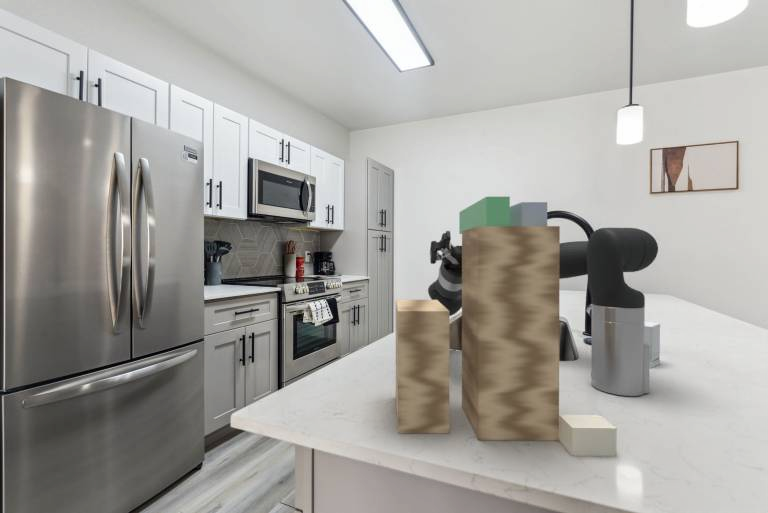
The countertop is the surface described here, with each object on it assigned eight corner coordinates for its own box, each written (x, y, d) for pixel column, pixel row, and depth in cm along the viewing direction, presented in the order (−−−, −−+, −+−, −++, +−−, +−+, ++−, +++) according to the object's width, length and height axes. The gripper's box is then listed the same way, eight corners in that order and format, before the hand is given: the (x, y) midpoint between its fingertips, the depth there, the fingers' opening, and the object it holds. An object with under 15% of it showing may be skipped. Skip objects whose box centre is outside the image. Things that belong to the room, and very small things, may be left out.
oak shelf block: (527, 406, 66) (528, 231, 66) (558, 440, 54) (559, 226, 54) (461, 406, 66) (462, 231, 66) (478, 440, 54) (478, 226, 54)
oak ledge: (436, 397, 70) (436, 299, 70) (449, 433, 56) (449, 311, 56) (395, 397, 70) (395, 299, 70) (397, 433, 56) (397, 311, 56)
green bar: (476, 233, 74) (476, 212, 74) (509, 226, 54) (509, 196, 54) (459, 233, 74) (459, 212, 74) (486, 226, 54) (486, 196, 54)
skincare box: (604, 358, 96) (604, 319, 96) (614, 354, 100) (615, 316, 100) (651, 369, 87) (651, 325, 87) (660, 364, 91) (661, 322, 91)
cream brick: (599, 442, 54) (600, 415, 54) (616, 457, 50) (616, 428, 50) (559, 441, 54) (559, 414, 54) (572, 456, 50) (572, 427, 50)
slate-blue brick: (531, 230, 63) (531, 207, 63) (547, 227, 57) (547, 202, 57) (508, 230, 63) (508, 207, 63) (521, 227, 57) (521, 202, 57)
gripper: (487, 284, 85) (508, 250, 71) (426, 284, 85) (435, 250, 71) (482, 257, 89) (501, 219, 75) (425, 257, 89) (433, 219, 75)
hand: (469, 234), depth 73 cm, fingers open, 8 cm apart
